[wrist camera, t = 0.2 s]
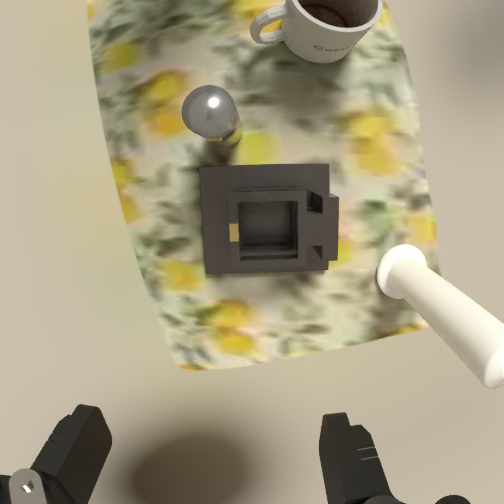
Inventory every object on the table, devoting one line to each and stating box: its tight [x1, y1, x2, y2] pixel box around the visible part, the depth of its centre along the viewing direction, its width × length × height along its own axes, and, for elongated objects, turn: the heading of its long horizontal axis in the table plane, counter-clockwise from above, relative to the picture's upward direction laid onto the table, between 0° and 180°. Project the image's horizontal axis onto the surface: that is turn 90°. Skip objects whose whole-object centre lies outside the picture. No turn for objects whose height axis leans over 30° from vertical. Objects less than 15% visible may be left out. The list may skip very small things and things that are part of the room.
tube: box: [182, 85, 243, 146], centre depth 27 cm, size 4×4×14 cm
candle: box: [377, 244, 504, 389], centre depth 26 cm, size 7×7×25 cm
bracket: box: [199, 164, 339, 274], centre depth 33 cm, size 12×14×7 cm
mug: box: [250, 0, 382, 63], centre depth 25 cm, size 12×9×10 cm
